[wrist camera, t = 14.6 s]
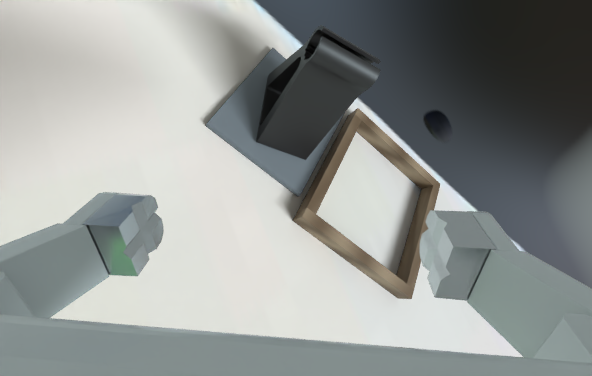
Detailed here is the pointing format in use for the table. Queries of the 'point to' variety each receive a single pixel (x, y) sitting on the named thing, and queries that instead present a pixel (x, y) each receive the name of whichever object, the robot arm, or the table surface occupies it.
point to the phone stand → (313, 92)
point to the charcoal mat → (244, 127)
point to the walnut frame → (343, 246)
